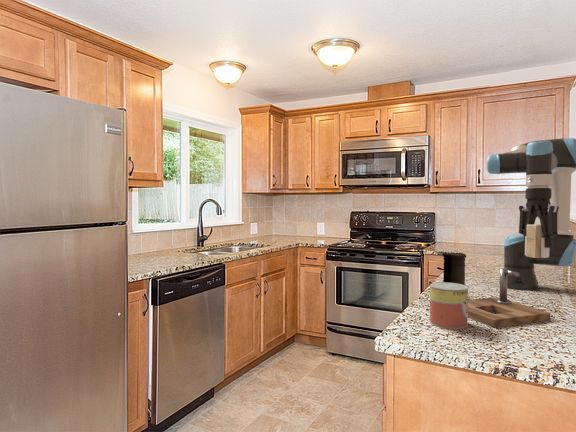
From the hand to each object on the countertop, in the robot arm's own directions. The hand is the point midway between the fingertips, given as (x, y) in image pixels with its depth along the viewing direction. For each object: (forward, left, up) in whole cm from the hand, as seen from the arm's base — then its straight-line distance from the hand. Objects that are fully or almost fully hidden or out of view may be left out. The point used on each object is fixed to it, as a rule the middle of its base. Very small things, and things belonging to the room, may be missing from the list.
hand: (536, 256), depth 138 cm
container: (+13, -25, -20) cm, 34 cm away
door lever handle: (+6, -6, -17) cm, 19 cm away
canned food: (+35, -1, -20) cm, 40 cm away
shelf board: (+13, -4, -20) cm, 24 cm away
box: (0, 0, -1) cm, 1 cm away
